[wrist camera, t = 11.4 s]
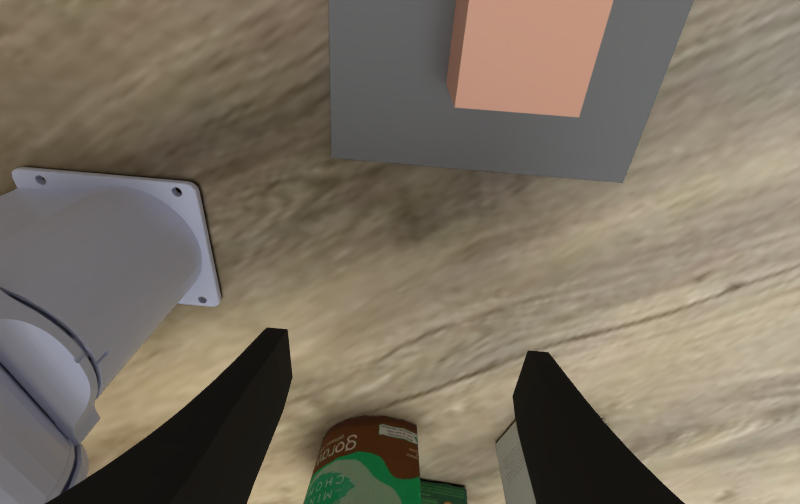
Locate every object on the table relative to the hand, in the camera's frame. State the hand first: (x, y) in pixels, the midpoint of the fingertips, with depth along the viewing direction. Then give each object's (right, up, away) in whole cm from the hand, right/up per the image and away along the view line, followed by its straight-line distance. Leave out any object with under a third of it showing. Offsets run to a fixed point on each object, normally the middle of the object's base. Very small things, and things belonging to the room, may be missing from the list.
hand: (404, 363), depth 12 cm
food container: (-4, -11, +19) cm, 23 cm away
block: (+4, +12, +4) cm, 13 cm away
